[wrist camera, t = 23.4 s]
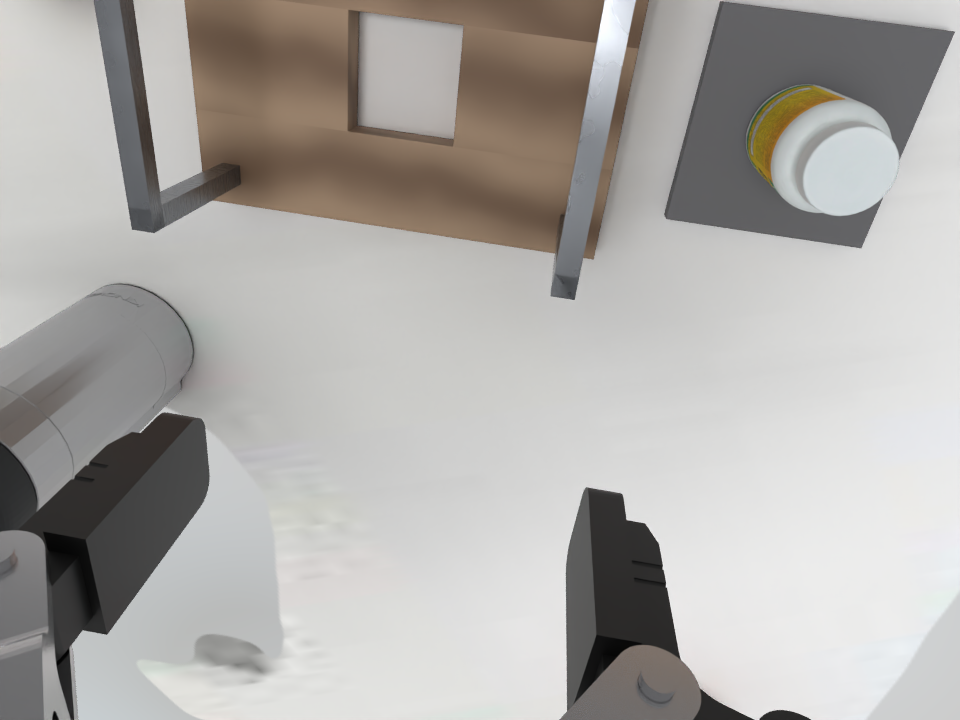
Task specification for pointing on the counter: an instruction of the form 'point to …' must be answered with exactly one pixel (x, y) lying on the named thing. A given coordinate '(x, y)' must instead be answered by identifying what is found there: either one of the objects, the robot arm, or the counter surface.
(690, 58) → the counter surface
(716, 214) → the mat
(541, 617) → the counter surface
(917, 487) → the counter surface
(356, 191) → the well board
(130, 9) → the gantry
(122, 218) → the counter surface
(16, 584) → the robot arm
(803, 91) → the supplement bottle
